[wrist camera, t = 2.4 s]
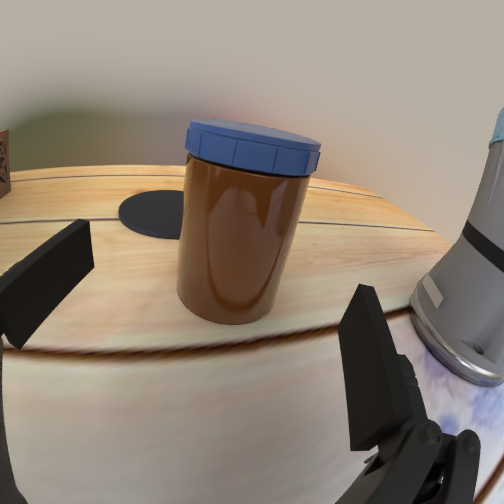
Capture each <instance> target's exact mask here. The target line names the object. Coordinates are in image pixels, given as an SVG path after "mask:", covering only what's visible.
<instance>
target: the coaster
mask: <svg viewBox="0 0 504 504" xmlns="http://www.w3.org/2000/svg"><path fill="white" fill-rule="evenodd" d="M182 200H183V191H176V190H158V191H149V192H144V193H140V194H137V195H134V196H131V197H129V198H128V199H126V200H125V201H123V202H122V203H121V205H120V207H119V218H120V220H121V222H122V223H123V224H124V225H125V226H126V227H128V228H130V229H131V230H133V231H136V232H138V233H141V234H144V235H148V236H153V237H158V238H168V239H179V236H180V223H181V211H182Z"/></svg>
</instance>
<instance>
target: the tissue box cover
mask: <svg viewBox="0 0 504 504" xmlns="http://www.w3.org/2000/svg"><path fill="white" fill-rule="evenodd" d="M8 134H9V130H8V129H7V130H2V131H0V199H1V198H2V197H3V196H4V195H6V194H7V193H8V192H10V191H11V183H10V170H9V146H8V145H9V143H8V140H9V137H8V136H9V135H8Z"/></svg>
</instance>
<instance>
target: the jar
mask: <svg viewBox="0 0 504 504" xmlns="http://www.w3.org/2000/svg"><path fill="white" fill-rule="evenodd" d="M310 176H311V174H310V175H298V176H296V175H295V176H294V175H282V174H273V173H266V172H259V171H253V170H248V169H242V168H237V167H233V166H228V165H224V164H220V163H216V162H212V161H208V160H206V159H203V158H200V157H197V156H195V155H192V154H191V153H189V152H188V155H187V164H186V172H185V181H184V190H183V200H182V211H181V223H180V236H179V252H178V271H177V292H178V296H179V298H180V300H181V301H182V303H183V304H184V305H185V306H186V307H187V308H188V309H189V310H190V311H191V312H193V313H194V314H196V315H198V316H200V317H201V318H204V319H206V320H209V321H212V322H216V323H221V324H229V325H239V324H246V323H250V322H254V321H256V320H259V319H261V318H262V317H264V316H265V315H266V314H268V312H269V311H270V310H271V309H272V307H273V305H274V302H275V299H276V296H277V292H278V289H279V286H280V283H281V279H282V276H283V273H284V269H285V266H286V263H287V259H288V256H289V252H290V249H291V245H292V242H293V239H294V235H295V231H296V228H297V224H298V221H299V217H300V214H301V210H302V206H303V203H304V199H305V195H306V192H307V188H308V184H309V180H310Z"/></svg>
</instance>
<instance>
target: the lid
mask: <svg viewBox="0 0 504 504" xmlns="http://www.w3.org/2000/svg"><path fill="white" fill-rule="evenodd" d="M320 147H321V144H320V143H319V142H317V141H315V140H312V139H309V138H307V137H303V136H300V135H297V134H294V133H290V132H286V131H282V130H278V129H274V128H269V127H264V126H259V125H254V124H248V123H242V122H234V121H226V120H216V119H191V120H190V127H189V128H188V130H187V137H186V144H185V148H186V149H187V151H188V152H189V153H191V154H192V155H195V156H197V157H200V158H203V159H206V160H208V161H212V162H216V163H220V164H224V165H228V166H233V167H237V168H242V169H248V170H253V171H259V172H266V173H273V174H282V175H294V176H295V175H296V176H298V175H310V174H312V173H313V172H314V171H316V168H317V164H318V160H319V156H320V152H319V150H320Z"/></svg>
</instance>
